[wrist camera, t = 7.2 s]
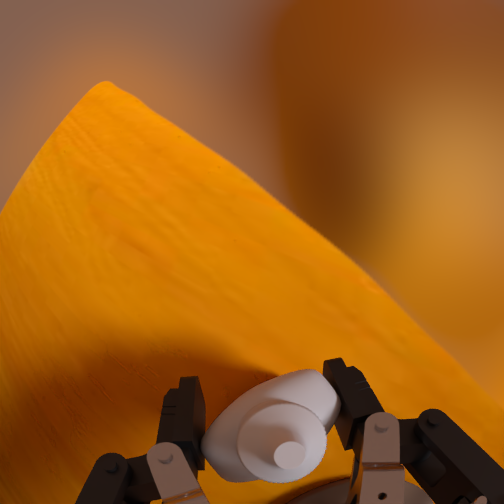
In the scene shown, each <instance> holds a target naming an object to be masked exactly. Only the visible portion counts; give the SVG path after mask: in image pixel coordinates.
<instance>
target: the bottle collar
mask: <svg viewBox="0 0 504 504" xmlns="http://www.w3.org/2000/svg"><path fill="white" fill-rule="evenodd" d="M350 479H351V478H347V479H343V480H339V481H335V482H332V483H329V484H326V485H323V486H320V487H318V488H315V489H313V490H311V491H308V492H306V493H304V494H302V495H300V496H298V497H297V498H295V499H293V500H291V501H289V502H288V503H286V504H345V503H346V499H347V496H348V492H349V486H350ZM404 504H433V502H432V500H431V499H430V497H429V496H428V495H427V494H426V493H425V492H424V491H423V490H422V489H420V488H419V487H417V486H416V485H414V484H411V483H409V482H407V481H404Z"/></svg>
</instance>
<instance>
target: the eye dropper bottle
mask: <svg viewBox="0 0 504 504" xmlns="http://www.w3.org/2000/svg"><path fill="white" fill-rule="evenodd" d="M340 410H341V400H340V397H339V396H338V394H337V393H336V391H335V390H334V389H333V387H332V386H331V385H330V384H329V382H328V381H327V380H326V379H325V378H324V376H323V375H322V374H321V373H319V372H317V371H316V370H312V369H304V370H298V371H295V372H291V373H287V374H284V375H281V376H278V377H276V378H273V379H271V380H268V381H266V382H263V383H261V384H259V385H257V386H255V387H253V388H251V389H250V390H248V391H247V392H245V393H244V394H242V395H241V396H240V397H238V398H237V399H236V400H235V401H234V402H233V403H231V404H230V405H229V406H228V407H227V408H226V409H225V410H224V411H223V412H222V413H221V414H220V415H219V416H218V417H217V418H216V419H215V420H214V422H213V423H212V424H211V425H210V427H209V428H208V429H207V431H206V432H205V434H204V436H203V437H202V439H201V445H200V449H201V452H202V454H203V455H204V457H205V458H206V460H207V461H208V462H209V464H210V465H211V466H212V467H213V469H214V470H215V471H216V472H217V473H218V474H219V475H220V476H221V477H222V478H223V479H225V480H226V481H230V482H247V481H253V480H258V479H260V480H261V479H263V480H264V481H268V482H273V483H275V482H277V483H280V482H281V483H284V482H287V483H288V482H289V481H291V482H293V481H294V480H298V479H299V478H300V479H301V478H302V477H303V476H306V474H310V472H311V471H313V469H314V468H316V466H317V465H319V462H320V461H322V459H321V458H323V457H324V456H323V454H324V453H325V450H326V449H327V448H326V447H325V446H326V445H327V443H326V441H327V439H326V437H327V434H328V433H329V431H330V430H331V428H332V426H333V425H334V423H335V421H336V419H337V417H338V415H339V413H340Z"/></svg>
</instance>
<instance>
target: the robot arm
mask: <svg viewBox="0 0 504 504" xmlns="http://www.w3.org/2000/svg"><path fill="white" fill-rule="evenodd" d="M323 376H324V378H325V379H326V380H327V381H328V382H329V384H330V385H331V386H332V387H333V389H334V390H335V391H336V393H337V394H338V396H339V397H340V400H341V410H340V413H339V415H338V417H337V419H336V421H335V423H334V424H335V427H336V429H337V432H338V435H339V437H340V440H341V442H342V445H343V447H344V450H349V449H353V451H354V454H355V455H354V458H353V465H352V472H351V479H350V486H349V492H348V496H347V499H346V503H345V504H404V477H405V471H404V467H405V468H406V469H407V470H408V471H409V473H410V474H411V475H412V476H413V477H414V479H415V480H416V481H417V482H418V483H419V485H420V486H421V487H422V488H423V489H424V491H425V492H426V493H427V494H428V495H429V497H430V498H431V499H432V500H433V501H434V503H435V504H504V469H503V468H502V467H500V466H499V465H498V464H497V463H496V462H495V461H494V460H493V459H492V458H491V457H490V456H489V455H488V454H487V453H486V452H485V451H484V450H483V449H482V448H481V447H480V446H479V445H478V444H477V443H476V442H475V441H473V440H472V439H471V438H470V437H469V436H468V435H467V434H466V433H465V432H464V431H463V430H462V429H461V428H460V427H459V426H458V425H457V424H456V423H455V422H454V421H452V420H451V419H450V418H449V417H448V416H447V415H446V414H445V413H444V412H442V411H441V410H438V409H428V410H425V411H423V412H422V413H421V414H420V416H419V417H418V418H416V419H397V418H396V417H395V416H393V415H392V414H390V413H386V412H385V411H384V410H383V408H382V406H381V404H380V403H379V401H378V399H377V397H376V396H375V394H374V392H373V390H372V389H371V388H370V385H369V384H368V382H367V381H366V378H365V377H364V375H363V373H362V372H361V371H360V370H358V369H357V368H356V367H354V366H351V367H346V365H345V363H344V361H343V359H342V358H335V359H330V360H325V361H324V364H323ZM162 407H163V408H162V411H161V417H160V423H159V429H158V435H157V441H156V444H155V445H154V446H153V447H152V448H151V449H150V450H149V451H148V453H147V454H145V455H143V456H139V457H134V458H129V459H125V458H124V457H123V456H122V455H120V454H117V453H107V454H104V455H102V456H101V457H99V458H98V460H97V461H96V463H95V465H94V467H93V469H92V471H91V473H90V475H89V477H88V479H87V481H86V483H85V484H84V486H83V488H82V490H81V492H80V494H79V496H78V498H77V501H76V503H75V504H150V502H151V501H153V500H158V499H162V504H210V503H209V501H208V499H207V498H206V496H205V494H204V492H203V490H202V489H201V487H200V485H199V483H198V481H197V477H198V470H205V457H204V455H203V454H202V452H201V449H200V445H201V439H202V437H203V436H204V434H205V401H204V397H203V393H202V390H201V386H200V382H199V378H198V376H190V377H181V378H180V382H179V388H178V389H170V390H169V391H168V392H167V394H166V395H165V396H164V400H163V406H162ZM400 464H403V465H404V466H403V465H400Z"/></svg>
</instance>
